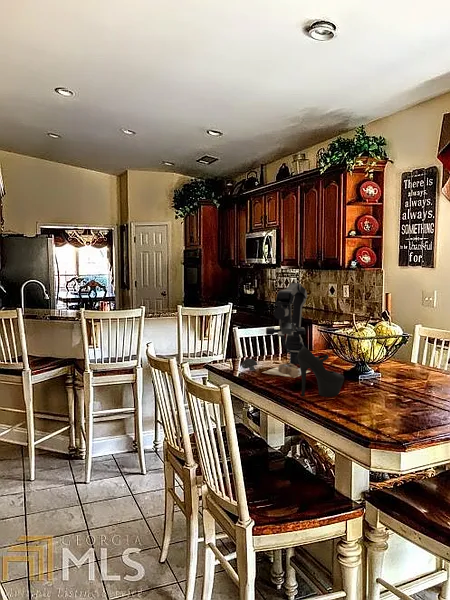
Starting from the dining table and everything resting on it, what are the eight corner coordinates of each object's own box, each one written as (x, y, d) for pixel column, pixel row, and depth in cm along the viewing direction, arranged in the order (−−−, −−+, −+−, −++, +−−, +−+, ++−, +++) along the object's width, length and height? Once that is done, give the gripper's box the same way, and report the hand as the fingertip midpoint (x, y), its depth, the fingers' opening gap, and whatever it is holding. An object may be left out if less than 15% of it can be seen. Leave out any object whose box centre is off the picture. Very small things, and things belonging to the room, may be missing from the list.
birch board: (278, 368, 252) (278, 366, 252) (311, 373, 241) (311, 371, 241) (261, 374, 239) (261, 372, 239) (295, 380, 228) (295, 377, 228)
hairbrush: (244, 370, 239) (241, 357, 264) (244, 377, 240) (241, 363, 264) (261, 369, 239) (257, 356, 264) (261, 377, 240) (256, 363, 265)
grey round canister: (285, 373, 242) (285, 364, 242) (290, 374, 240) (290, 365, 240) (282, 374, 240) (282, 365, 239) (287, 375, 238) (287, 366, 238)
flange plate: (278, 370, 242) (278, 363, 242) (292, 369, 244) (292, 363, 244) (288, 377, 229) (288, 370, 229) (302, 376, 231) (302, 369, 230)
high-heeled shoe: (346, 397, 200) (346, 347, 199) (299, 398, 199) (299, 348, 197) (340, 391, 208) (340, 344, 207) (294, 392, 207) (295, 344, 205)
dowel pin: (298, 374, 235) (299, 367, 234) (302, 374, 234) (302, 368, 233) (297, 375, 233) (297, 368, 233) (300, 375, 232) (300, 368, 232)
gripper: (266, 319, 234) (266, 352, 236) (306, 318, 233) (306, 351, 235) (265, 315, 245) (265, 347, 247) (304, 315, 245) (304, 347, 246)
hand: (285, 348), depth 244 cm, fingers closed
